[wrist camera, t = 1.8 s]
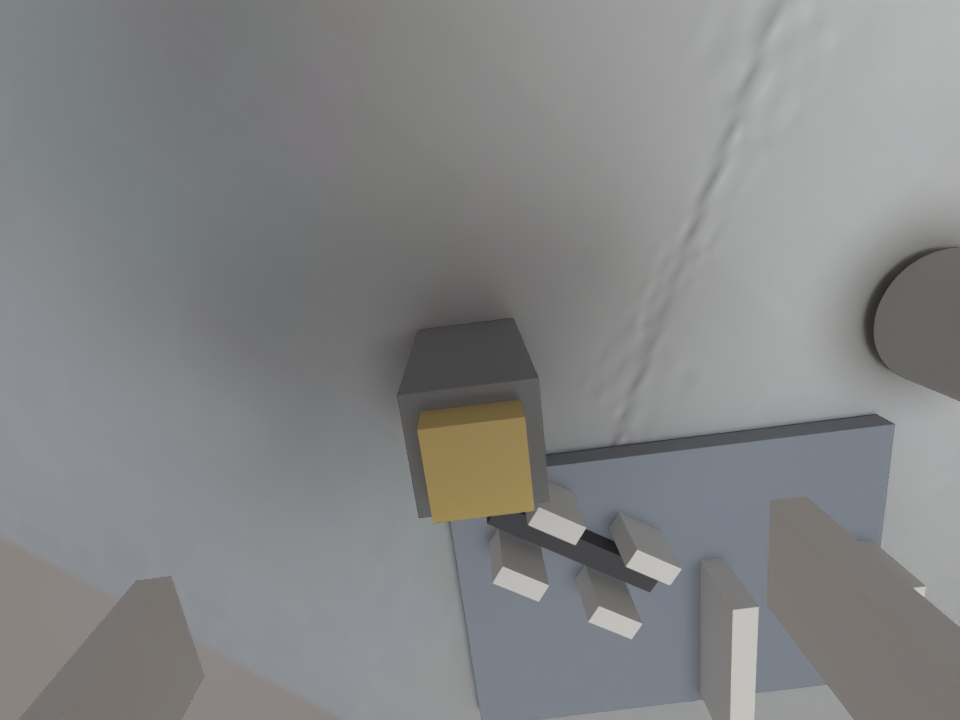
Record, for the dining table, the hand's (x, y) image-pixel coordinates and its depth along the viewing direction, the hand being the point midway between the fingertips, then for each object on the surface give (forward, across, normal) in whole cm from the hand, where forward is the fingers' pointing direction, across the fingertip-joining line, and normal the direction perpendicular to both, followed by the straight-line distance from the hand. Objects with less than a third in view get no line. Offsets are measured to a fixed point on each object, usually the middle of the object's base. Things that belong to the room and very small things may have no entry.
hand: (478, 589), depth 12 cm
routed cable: (+14, +4, -9) cm, 17 cm away
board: (+15, +9, -13) cm, 22 cm away
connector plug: (+15, 0, 0) cm, 15 cm away
